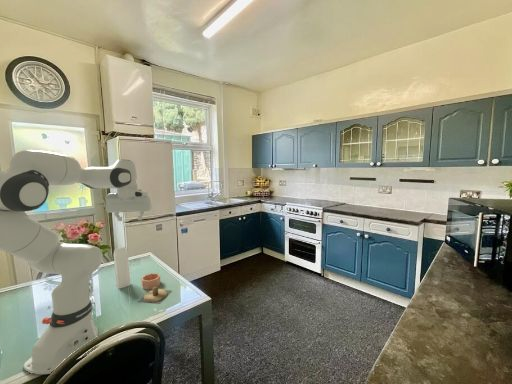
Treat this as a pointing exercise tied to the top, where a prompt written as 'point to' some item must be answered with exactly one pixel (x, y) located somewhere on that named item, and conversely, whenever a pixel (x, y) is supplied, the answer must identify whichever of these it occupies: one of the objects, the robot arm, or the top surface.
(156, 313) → the top surface
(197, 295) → the top surface
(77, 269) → the robot arm
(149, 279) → the bowl
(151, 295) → the lid
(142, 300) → the mat
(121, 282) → the milk
